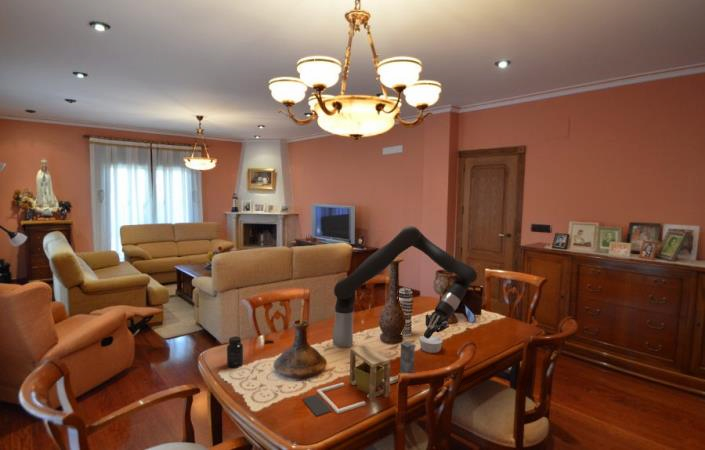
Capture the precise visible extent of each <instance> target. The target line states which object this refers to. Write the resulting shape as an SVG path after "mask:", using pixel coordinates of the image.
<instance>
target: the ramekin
mask: <svg viewBox="0 0 705 450" xmlns="http://www.w3.org/2000/svg"><path fill="white" fill-rule="evenodd" d="M419 344H420V345H419V346H420V349H421V350H422V351H423V352H425V353H429V354H436V353H439V352H441V348H442V345H443V338H441V337H440V336H438V335H433V334H432V335H431V337H430V338H429V339H427V338H425V337H424V334H423V335H421V336H419Z"/></svg>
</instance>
